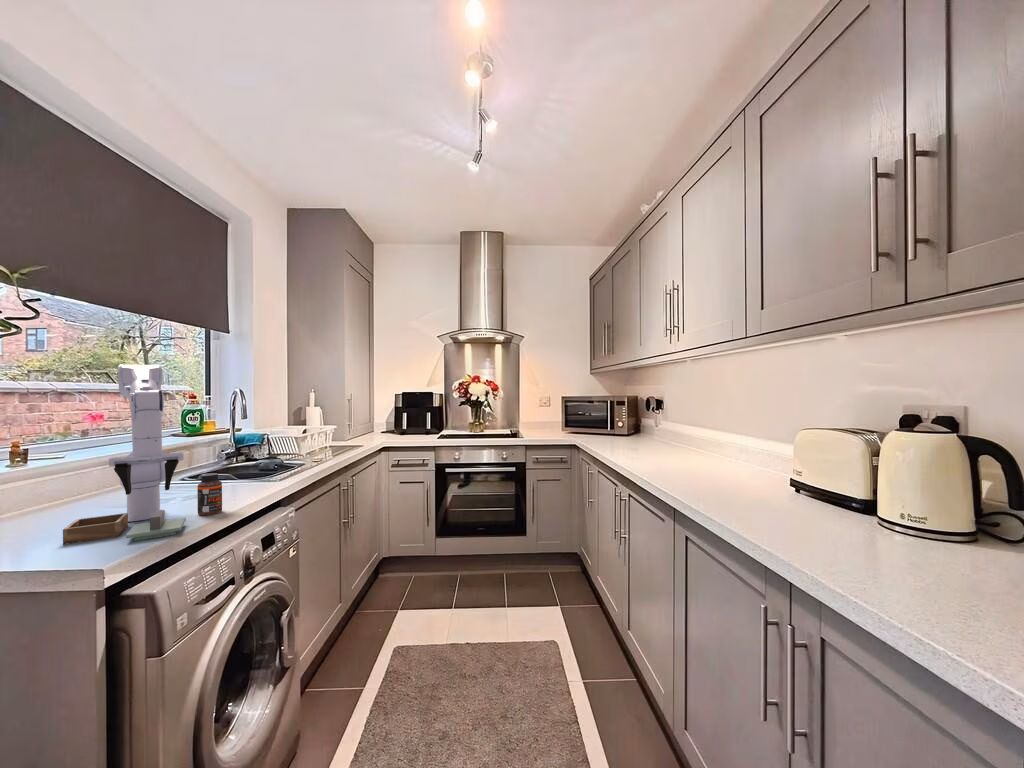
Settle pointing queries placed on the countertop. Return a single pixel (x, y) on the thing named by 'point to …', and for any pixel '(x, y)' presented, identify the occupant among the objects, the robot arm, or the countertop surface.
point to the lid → (156, 527)
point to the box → (95, 528)
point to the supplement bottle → (209, 495)
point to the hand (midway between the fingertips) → (148, 491)
